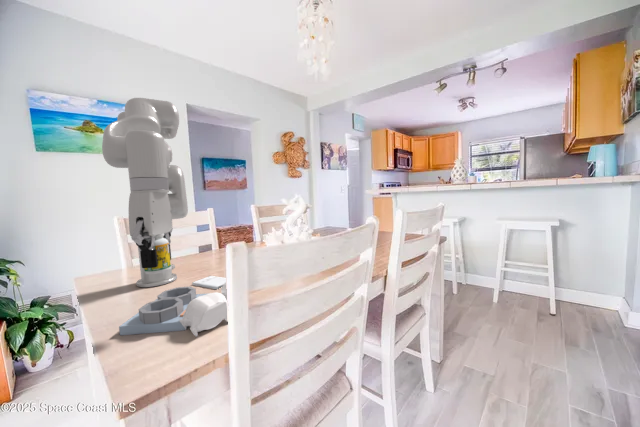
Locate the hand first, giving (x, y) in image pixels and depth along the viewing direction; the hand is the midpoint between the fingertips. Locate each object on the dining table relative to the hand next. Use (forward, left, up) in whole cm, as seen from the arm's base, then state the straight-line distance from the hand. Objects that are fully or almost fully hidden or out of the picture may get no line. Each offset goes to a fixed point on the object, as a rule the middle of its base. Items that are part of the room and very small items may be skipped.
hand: (157, 263), depth 62 cm
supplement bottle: (0, 0, -2) cm, 2 cm away
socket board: (-4, 0, -15) cm, 15 cm away
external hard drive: (-28, +3, -15) cm, 32 cm away
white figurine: (+1, +13, -15) cm, 20 cm away
